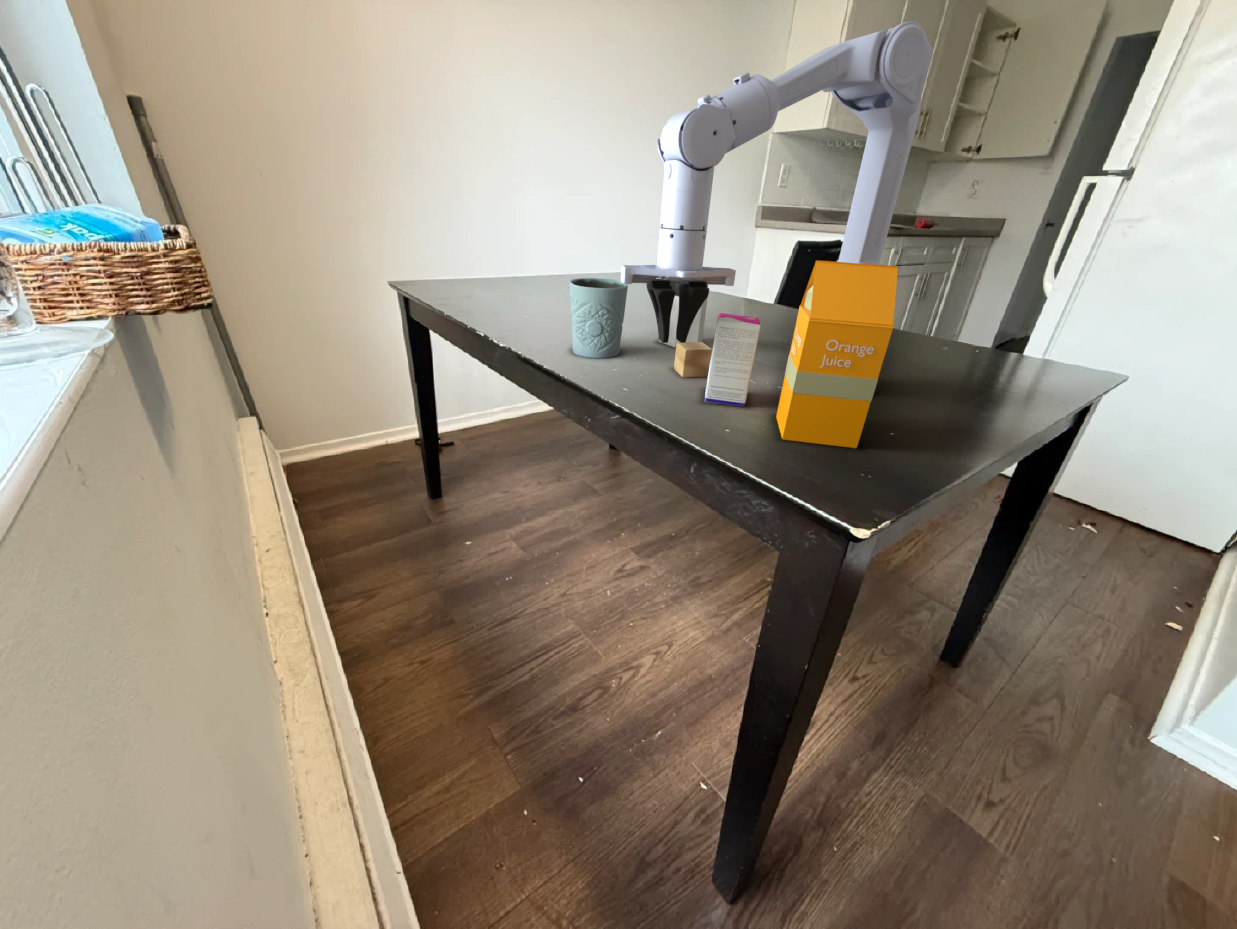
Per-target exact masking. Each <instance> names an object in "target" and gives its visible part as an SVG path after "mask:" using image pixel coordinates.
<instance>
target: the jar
mask: <svg viewBox="0 0 1237 929" xmlns="http://www.w3.org/2000/svg"><path fill="white" fill-rule="evenodd" d="M666 279H693V280H699V279H694V278H677V277H666ZM679 285H680V284H670V286H672V290H673V291H675V297H674V301H673V306H672V311H671V317H670V330H669V339H668V343H662V342H661V341H660V340H659V339H658V343H660V344H663V345H666V346H668V347H672V348H675V349H676V344H677V342H679V341H678V340H677V339H676V329H677V322H678V314H679ZM706 287H707V288H709V285H706ZM708 299H709V296H708V297H707V299H706V300H705V301H704V303H703V304H702V306H701V307H700V309H699V311H698V312H697V314H696V316H695V318H694V320H693V323H692V325H691V328H690V330H689V333H688V336H687V339H686V342H703V337H704V331H705V330H704V329H705V323H706V322H705V321H706V313H707V305H708Z"/></svg>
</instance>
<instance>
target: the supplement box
mask: <svg viewBox="0 0 1237 929" xmlns="http://www.w3.org/2000/svg"><path fill="white" fill-rule="evenodd" d="M761 327H762V325H761V321H760V318H759V317H757V316H750V315H749V316H748V315H740V314H732V313H724V312H723V313H722V312H719V313H718V315H717V320H716V326H715V333H714V338H713V345H712V348H711V349H712V355H711V361H710V366H709V373H708V377H707V379H706V386H705V393H704V403H708V404H718V405H724V406H725V405H726V406H734V407H745V406H746V402H747V397H748V392H749V389H750V388H749V387H750V384H751V377H752V372H753V367H754V363H755V359H756V358H755V357H756V353H757V347H758V342H759V338H760V332H761Z"/></svg>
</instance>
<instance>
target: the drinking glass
mask: <svg viewBox="0 0 1237 929" xmlns="http://www.w3.org/2000/svg"><path fill="white" fill-rule="evenodd" d="M568 288H569V300H570V318H571V340H572V342H571V347H572V348H571V349H572V352H573V354H575V355H578V356H579V357H585V358H590V359H591V358H592V359H606V358H607V359H608V358H614V357H616V356H618V355H619V353H620V350H621V341H622V334H623V325H624V320H625V313H626V303H627V296H628V288H629V284H624V283H622V282H621V280H617V279H610V278H601V277H579V278H573V279H571V280H569V282H568Z"/></svg>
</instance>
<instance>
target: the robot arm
mask: <svg viewBox="0 0 1237 929" xmlns="http://www.w3.org/2000/svg"><path fill="white" fill-rule="evenodd" d="M933 53H934V50H933V48H932V46H931V43H930V41H929V39H928V36H927V34H926V32H925V30H924V29H923V26H921V25H920V24H919V23H918V22H915V21H911V20H910V21H904V22H902V23H900V24H898V25H895V26H894V27H892V28H886V29H882V30H879V31H875V32H872V33H868V34H866V35H862V36H859V37H855V38H852V39H847V40H845V41H841V42H839V43H836V44H833V45H830V46H827V47H825V48H823V49H821V50H820V51H818V52H816V53H814V54H813V55H811V56H809V57H808V58H806V59H805V60H803V61H801V62H799V63H798V64H796V65H794V66H792V67H790V68H789V69H787V70H786V71H784V72H783V73H781V74H779V75H777V76H776V77H774V78H772V79H771V80H770V79H769V78H767V77H765V76H764V75H762V74H758V73H757V74H752V75H750V72H745V73H742V74H740V75H738V76H736V77H734V78H733V79H732V82H733V85H732V86H730V87H728V88H726V89H724V90H722V91H721V92H718V93H717V94H715V95H713V96H711V95H710V94H706V95H703V96H701V97H700V98H697V106H696V108H691V109H687V110H685V111H680V112H677V113H675V114H673V115H672V116H671V117H670V118H668V119H667V121H666V124H665V125H664V126H663V127H662V130H661V134H660V138H657V139H656V143H657V144H656V147H657V152H658V155H659V158H660V160H661V162H662V163H663V167H664V168H663V170H664V171H663V184H662V192H661V193H662V194H661V204H660V205H661V206H660V217H659V218H660V219H659V232H658V242H657V243H658V244H657V255H656V256H657V258H656V260H657V261H656V264H636V265H634V264H632V265H631V264H630V265H629V264H628V265H627V264H622V265H620V281H621V282H622V283H624V284H628V285H632V284H646V285H645V286H646V289H647V293H648V295H649V298H650V301H651V303H652V307H653V310H654V311H653V312H654V314H655V320H656V325H657V333H658V335H657V336H658V341H659V340H660V341H661V342H662V343H661V344H663V343H668V339H669V330H670V317H671V311H672V306H673V301H674V297H675V291H673V290H672V286H670V284H680V285H679V314H678V322H677V329H676V339H677V340H678V341H679V342H681V343H686V339H687V336H688V333H689V330H690V328H691V325H692V323H693V320H694V318H695V316H696V314H697V312H698V311H699V309H700V307H701V306H702V304H703V303H704V301H705V300H706V299H707V297H708V298H709V294H710V288H709V287H708V288H707V287H706V285H708V286H709V285H711V286H716V285H717V286H725V287H734V286H735V281H736V280H735V279H736V272H737V270H736V269H733V268H730V267H714V266H713V267H712V266H703V265H704V258H705V257H704V256H705V249H706V241H707V233H708V223H709V214H710V208H711V198H712V189H713V182H714V174H715V167H716V166H718V165H719V164H720V163H721V162H722V161H723V159H724V157H725V155H726V154H727V153H729V152H731V151H733V150H735V149H737V148H739V147H741V146H742V145H744V144H746V143H748V142H750V141H752V140H753V139H755V138H757V137H759V136H760V135H763V134H765V133H766V132H768V131H770V129H772V127H773V126H774V124H775V122H776V121H777V117H778V113H779V112H780V111H782V110H784V109H786V108H788V107H790V106H793V105H794V104H797V103H798V102H799V103H800V102H801V101H803V100H805V99H807V98H809V97H811V96H813V95H815V94H818V93H819V92H824V93H829V92H830V93H831V95H832V96H833V98H834V99H835V100H836V101H837V102H838V103H840V104H841V105H842V106H844V108H846V109H847V110H848V111H849V112H851V113H852V114H853V115H855V116H856V117H857V118H858V119H860V121H861V122H862V123H863V125H864V127H865V128H866V129H867V137H866V142H865V146H864V150H863V155H862V158H861V163H860V168H859V171H858V176H857V180H856V184H855V188H854V193H853V197H852V200H851V207H850V210H849V213H848V218H847V222H846V227H845V230H844V237H843V239H842V244H841V248H840V252H839V257H838V260H836V262H847V263H861V264H875V265H882V264H881V259H882V256H883V253H884V249H885V245H886V242H887V238H888V233H889V230H890V226H891V223H892V219H893V215H894V211H895V208H896V204H897V201H898V197H899V193H900V189H901V186H902V182H903V178H904V175H905V171H906V167H907V163H908V160H909V157H910V153H911V148H912V145H913V141H914V138H915V135H916V131H917V127H918V123H919V119H920V114H921V106H922V94H923V91H924V87H925V83H926V79H927V75H928V71H929V68H930V64H931V61H932V57H933ZM667 277H677V278H694V279H699V280H693V279H666V278H667ZM707 300H708V299H707Z"/></svg>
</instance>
